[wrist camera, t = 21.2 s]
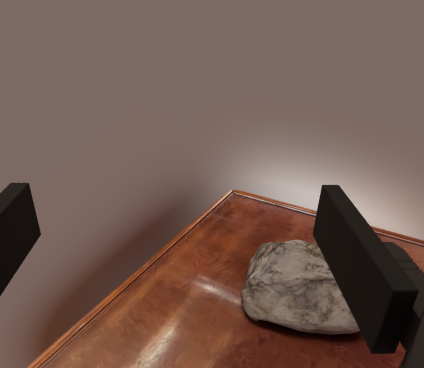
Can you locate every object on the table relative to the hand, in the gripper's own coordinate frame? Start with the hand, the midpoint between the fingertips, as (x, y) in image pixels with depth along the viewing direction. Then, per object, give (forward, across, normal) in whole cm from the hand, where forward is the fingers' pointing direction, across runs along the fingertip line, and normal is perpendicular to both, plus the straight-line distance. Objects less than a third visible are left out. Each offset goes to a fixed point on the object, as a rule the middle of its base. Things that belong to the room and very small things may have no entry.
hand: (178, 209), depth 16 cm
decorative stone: (+24, +18, -32) cm, 44 cm away
